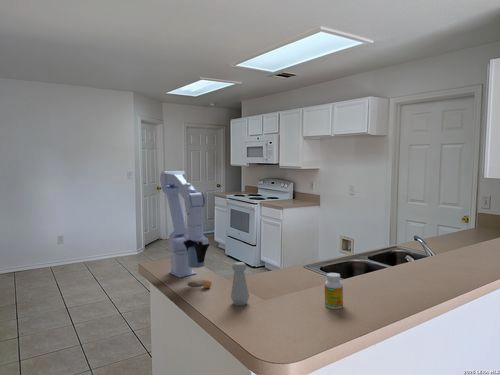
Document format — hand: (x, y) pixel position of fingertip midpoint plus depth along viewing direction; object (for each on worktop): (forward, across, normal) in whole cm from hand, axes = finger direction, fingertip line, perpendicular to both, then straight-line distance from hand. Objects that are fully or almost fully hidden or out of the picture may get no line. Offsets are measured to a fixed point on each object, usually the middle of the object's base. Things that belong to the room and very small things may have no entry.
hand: (196, 260), depth 132 cm
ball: (+7, +7, 0) cm, 10 cm away
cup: (+2, 0, 0) cm, 2 cm away
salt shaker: (+9, +27, 0) cm, 28 cm away
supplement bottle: (+9, +48, +20) cm, 53 cm away
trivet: (+9, 0, 0) cm, 9 cm away
